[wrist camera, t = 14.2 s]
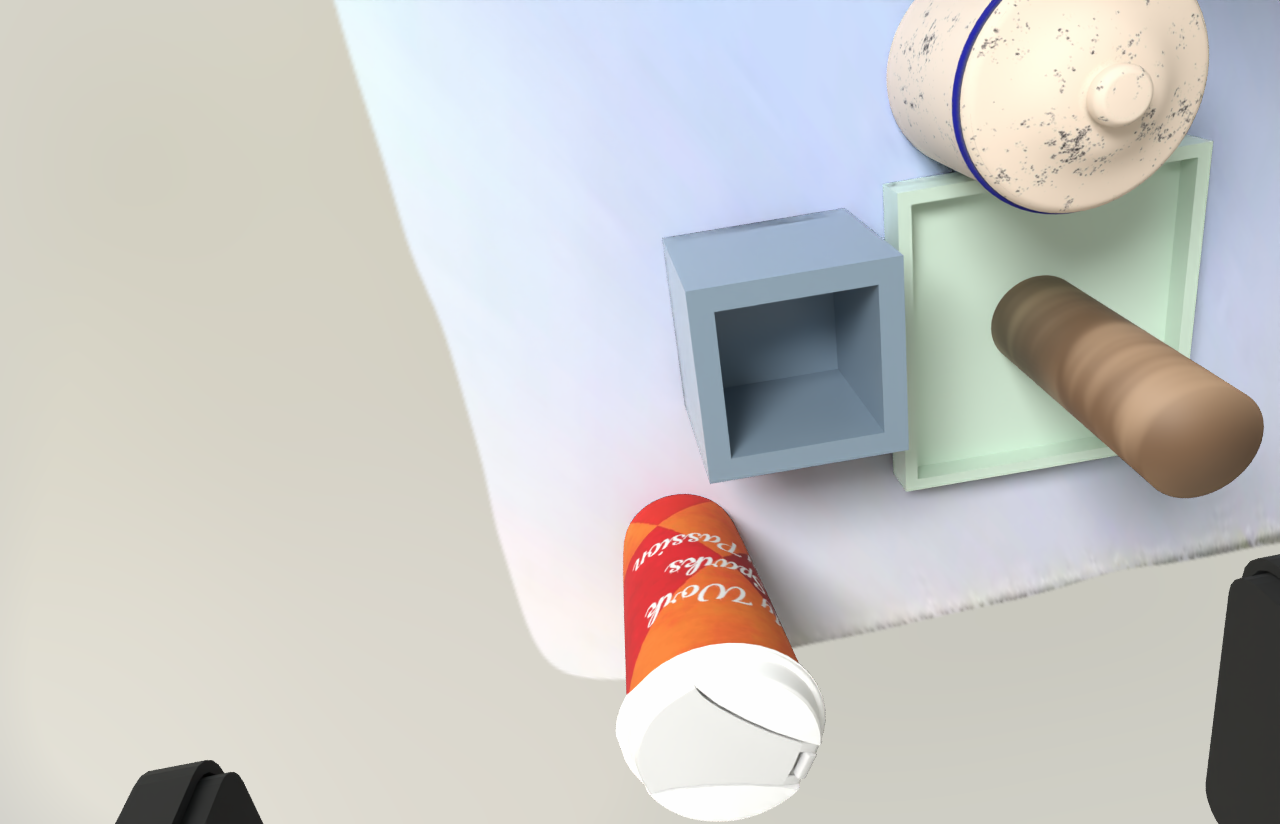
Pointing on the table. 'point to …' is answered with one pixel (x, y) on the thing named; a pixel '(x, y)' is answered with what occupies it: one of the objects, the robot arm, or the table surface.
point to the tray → (997, 261)
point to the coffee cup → (709, 670)
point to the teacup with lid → (1049, 93)
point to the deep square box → (790, 343)
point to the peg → (1129, 387)
